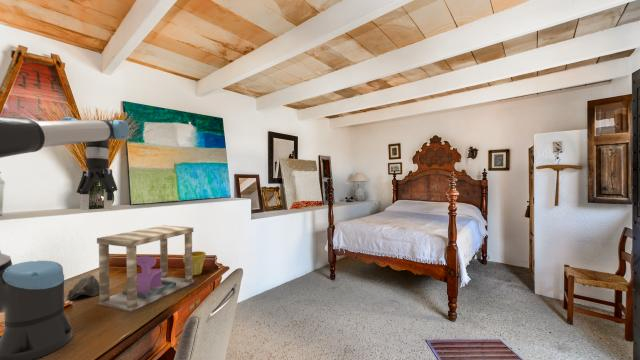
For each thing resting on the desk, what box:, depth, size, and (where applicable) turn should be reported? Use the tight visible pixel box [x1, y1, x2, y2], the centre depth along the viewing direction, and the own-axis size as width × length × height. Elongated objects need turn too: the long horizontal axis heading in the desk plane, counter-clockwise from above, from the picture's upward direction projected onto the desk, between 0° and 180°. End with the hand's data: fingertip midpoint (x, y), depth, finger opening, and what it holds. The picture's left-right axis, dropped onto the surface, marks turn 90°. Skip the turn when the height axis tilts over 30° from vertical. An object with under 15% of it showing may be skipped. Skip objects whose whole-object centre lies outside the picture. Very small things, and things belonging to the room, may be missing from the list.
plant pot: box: [182, 250, 207, 276], centre depth 137 cm, size 10×10×10 cm
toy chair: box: [137, 255, 162, 294], centre depth 115 cm, size 8×9×15 cm
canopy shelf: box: [96, 225, 195, 312], centre depth 115 cm, size 29×18×25 cm, turn 160°
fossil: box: [66, 273, 100, 301], centre depth 113 cm, size 11×9×10 cm
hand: (96, 209), depth 114 cm, fingers open, 13 cm apart
